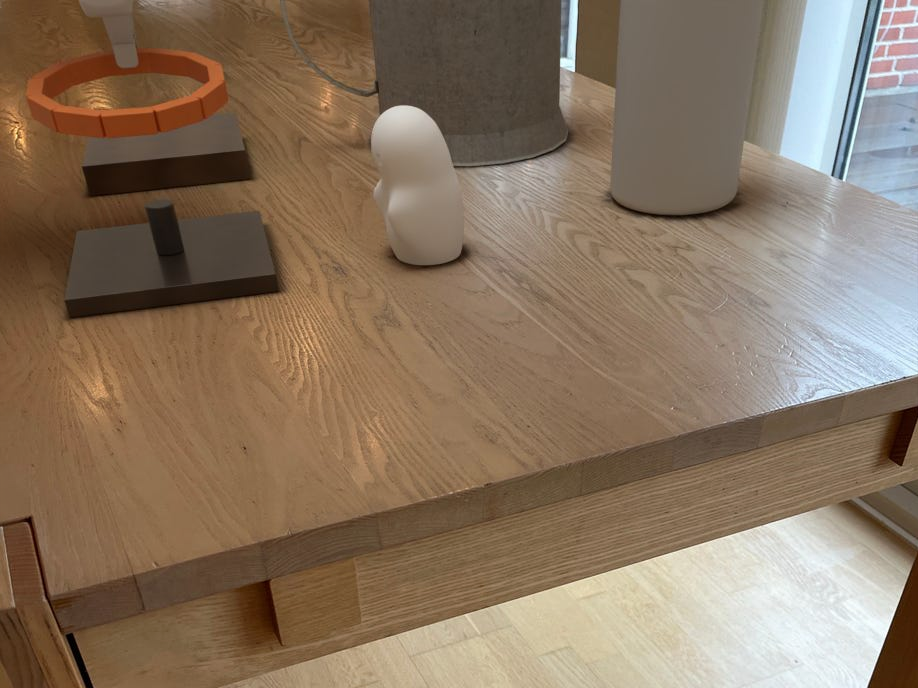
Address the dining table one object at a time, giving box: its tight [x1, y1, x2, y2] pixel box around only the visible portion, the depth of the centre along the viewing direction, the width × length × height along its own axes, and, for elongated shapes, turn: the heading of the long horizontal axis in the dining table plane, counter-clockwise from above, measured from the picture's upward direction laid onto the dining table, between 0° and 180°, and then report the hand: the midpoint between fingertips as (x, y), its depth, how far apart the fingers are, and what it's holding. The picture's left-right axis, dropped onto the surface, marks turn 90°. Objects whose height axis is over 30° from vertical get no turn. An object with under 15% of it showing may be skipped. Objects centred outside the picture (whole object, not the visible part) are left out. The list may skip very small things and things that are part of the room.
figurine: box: [370, 105, 465, 266], centre depth 82 cm, size 7×8×12 cm
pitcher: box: [279, 0, 569, 167], centre depth 105 cm, size 23×32×25 cm
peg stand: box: [63, 198, 279, 318], centre depth 83 cm, size 17×17×6 cm
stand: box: [81, 112, 251, 197], centre depth 108 cm, size 17×17×3 cm
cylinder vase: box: [609, 0, 765, 216], centre depth 87 cm, size 12×12×25 cm
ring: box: [25, 47, 229, 138], centre depth 76 cm, size 15×15×2 cm
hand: (129, 63), depth 81 cm, fingers closed on ring, 1 cm apart
